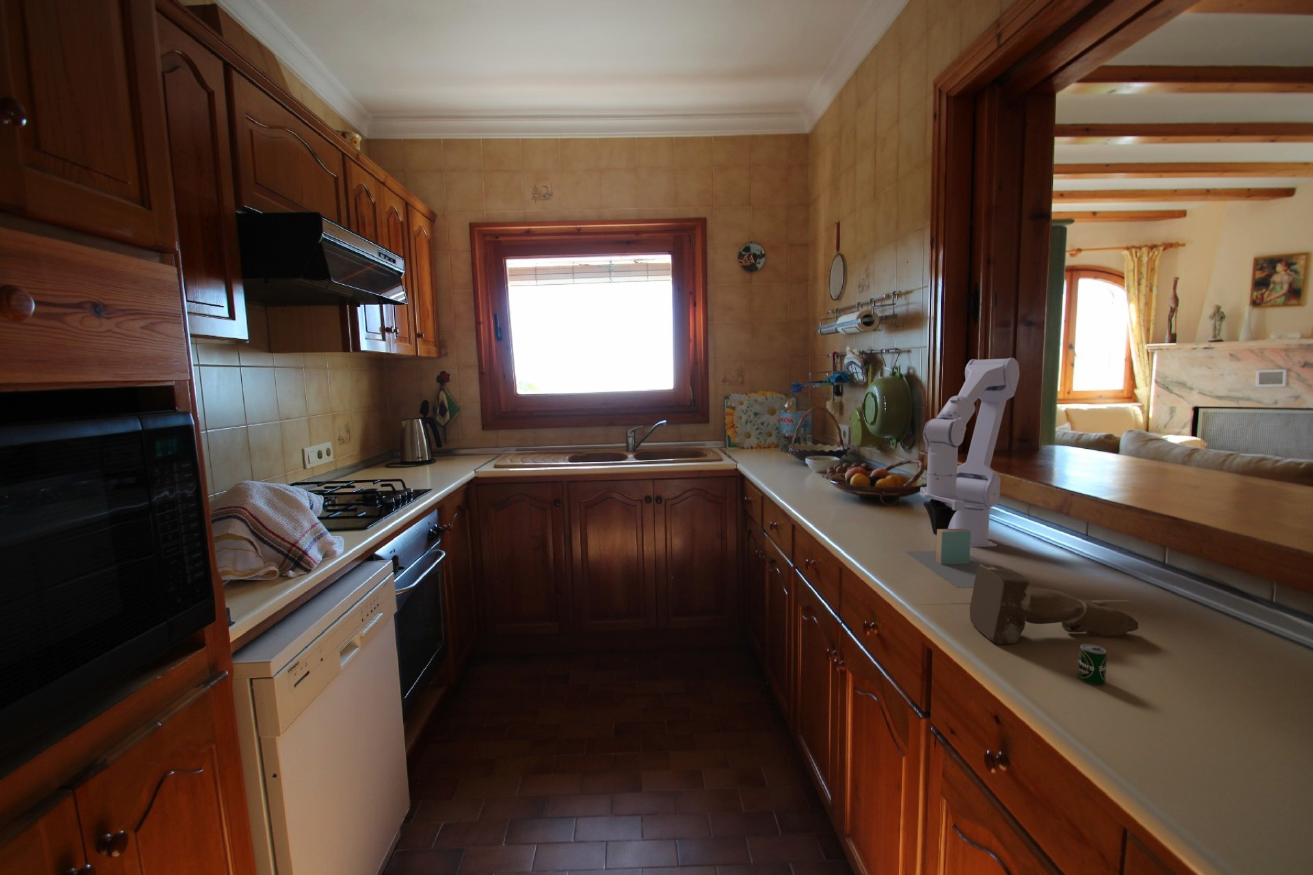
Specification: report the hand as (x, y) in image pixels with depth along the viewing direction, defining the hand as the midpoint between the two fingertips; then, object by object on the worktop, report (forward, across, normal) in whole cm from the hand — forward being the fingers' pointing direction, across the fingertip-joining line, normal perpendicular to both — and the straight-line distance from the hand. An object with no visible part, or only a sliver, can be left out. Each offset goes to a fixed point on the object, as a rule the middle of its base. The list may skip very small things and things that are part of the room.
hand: (939, 534), depth 119 cm
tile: (+4, +5, 0) cm, 7 cm away
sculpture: (+5, +37, -1) cm, 37 cm away
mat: (+5, +8, 0) cm, 10 cm away
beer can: (+5, +49, -6) cm, 50 cm away
